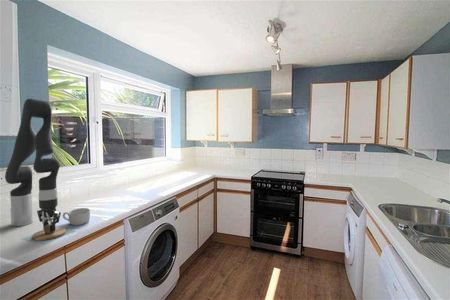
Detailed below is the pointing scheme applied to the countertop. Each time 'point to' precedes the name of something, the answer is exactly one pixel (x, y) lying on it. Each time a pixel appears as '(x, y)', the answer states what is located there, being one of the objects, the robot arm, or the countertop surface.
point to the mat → (47, 240)
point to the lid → (48, 233)
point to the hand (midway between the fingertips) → (49, 230)
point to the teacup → (78, 216)
